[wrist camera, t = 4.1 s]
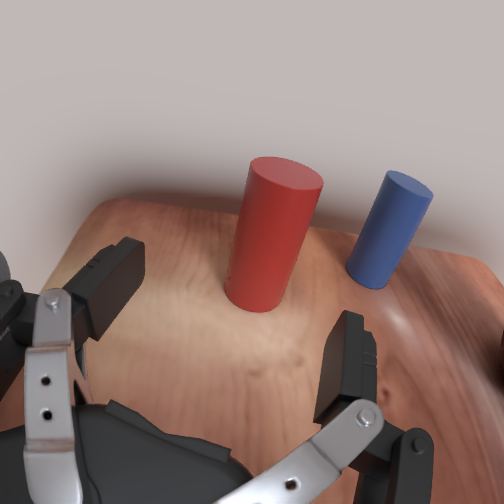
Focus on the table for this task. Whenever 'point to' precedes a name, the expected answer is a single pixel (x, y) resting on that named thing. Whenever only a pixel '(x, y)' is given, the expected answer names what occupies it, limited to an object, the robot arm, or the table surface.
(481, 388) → the table surface
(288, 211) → the red tin
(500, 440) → the table surface
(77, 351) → the robot arm
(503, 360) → the butternut squash
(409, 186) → the blue tin
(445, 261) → the table surface
